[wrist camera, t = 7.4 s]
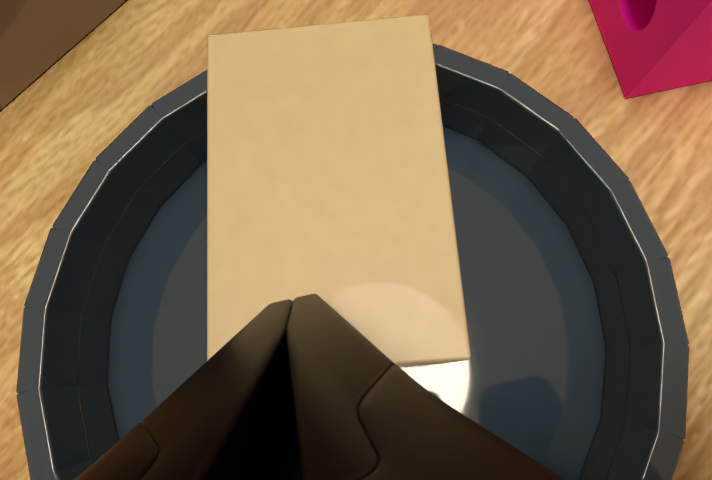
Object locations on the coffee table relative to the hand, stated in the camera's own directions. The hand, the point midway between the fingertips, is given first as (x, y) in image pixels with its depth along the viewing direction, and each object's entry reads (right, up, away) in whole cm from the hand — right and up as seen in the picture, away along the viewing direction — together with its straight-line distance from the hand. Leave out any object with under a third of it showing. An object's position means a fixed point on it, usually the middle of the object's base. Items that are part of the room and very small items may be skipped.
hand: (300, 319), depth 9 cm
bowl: (+1, -1, +6) cm, 7 cm away
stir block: (+1, -2, +3) cm, 4 cm away
